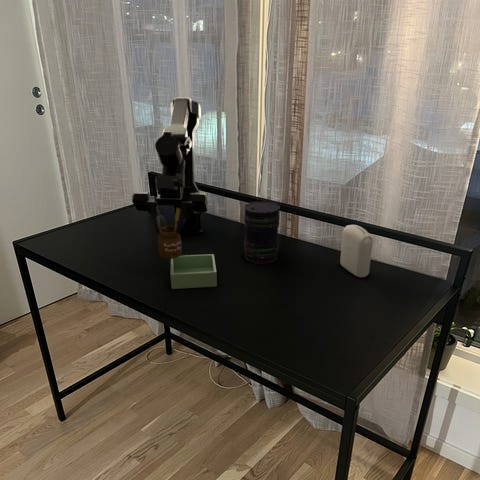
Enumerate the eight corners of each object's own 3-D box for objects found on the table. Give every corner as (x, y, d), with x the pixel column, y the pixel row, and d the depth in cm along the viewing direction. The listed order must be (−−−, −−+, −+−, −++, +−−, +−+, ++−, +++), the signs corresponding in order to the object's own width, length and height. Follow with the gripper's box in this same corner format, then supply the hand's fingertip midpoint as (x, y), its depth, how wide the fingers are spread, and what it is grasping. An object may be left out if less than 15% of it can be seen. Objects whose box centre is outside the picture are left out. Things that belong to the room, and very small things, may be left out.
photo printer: (337, 264, 144) (341, 222, 138) (350, 261, 145) (355, 220, 139) (356, 279, 136) (362, 235, 129) (370, 276, 137) (376, 232, 131)
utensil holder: (155, 253, 135) (151, 209, 128) (176, 248, 138) (173, 204, 131) (165, 261, 130) (161, 216, 124) (187, 255, 133) (184, 211, 127)
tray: (172, 269, 142) (170, 256, 140) (214, 267, 143) (213, 254, 141) (171, 288, 132) (170, 274, 130) (217, 286, 133) (216, 272, 131)
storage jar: (269, 247, 154) (270, 199, 147) (284, 260, 147) (286, 209, 139) (238, 253, 151) (238, 204, 143) (252, 266, 143) (252, 214, 136)
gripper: (129, 159, 126) (122, 218, 122) (204, 160, 125) (200, 220, 121) (140, 182, 137) (134, 236, 133) (209, 183, 135) (206, 238, 132)
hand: (167, 232), depth 129 cm, fingers closed on utensil holder, 5 cm apart
